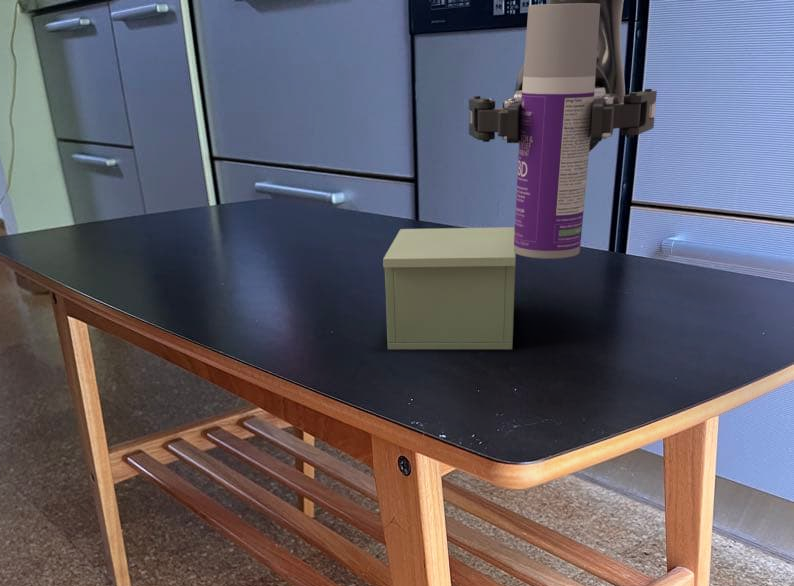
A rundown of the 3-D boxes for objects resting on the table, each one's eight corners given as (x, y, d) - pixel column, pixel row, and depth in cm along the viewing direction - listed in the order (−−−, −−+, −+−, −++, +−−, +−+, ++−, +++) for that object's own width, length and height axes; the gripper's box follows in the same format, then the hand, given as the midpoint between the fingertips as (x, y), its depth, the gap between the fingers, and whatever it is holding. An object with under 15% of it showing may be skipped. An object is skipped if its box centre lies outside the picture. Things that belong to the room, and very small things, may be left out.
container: (499, 250, 63) (510, 5, 55) (545, 242, 65) (562, 6, 57) (547, 262, 59) (565, 3, 52) (593, 252, 62) (618, 3, 54)
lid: (515, 266, 76) (515, 256, 76) (383, 267, 77) (383, 258, 77) (514, 235, 88) (514, 227, 88) (400, 237, 90) (400, 229, 89)
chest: (512, 351, 80) (515, 264, 77) (387, 351, 82) (384, 266, 78) (511, 312, 92) (514, 235, 88) (402, 313, 94) (400, 237, 90)
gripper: (474, 58, 70) (443, 62, 56) (660, 49, 67) (678, 50, 53) (474, 159, 74) (445, 188, 59) (650, 154, 71) (664, 183, 56)
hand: (554, 123), depth 56 cm, fingers closed on container, 4 cm apart
